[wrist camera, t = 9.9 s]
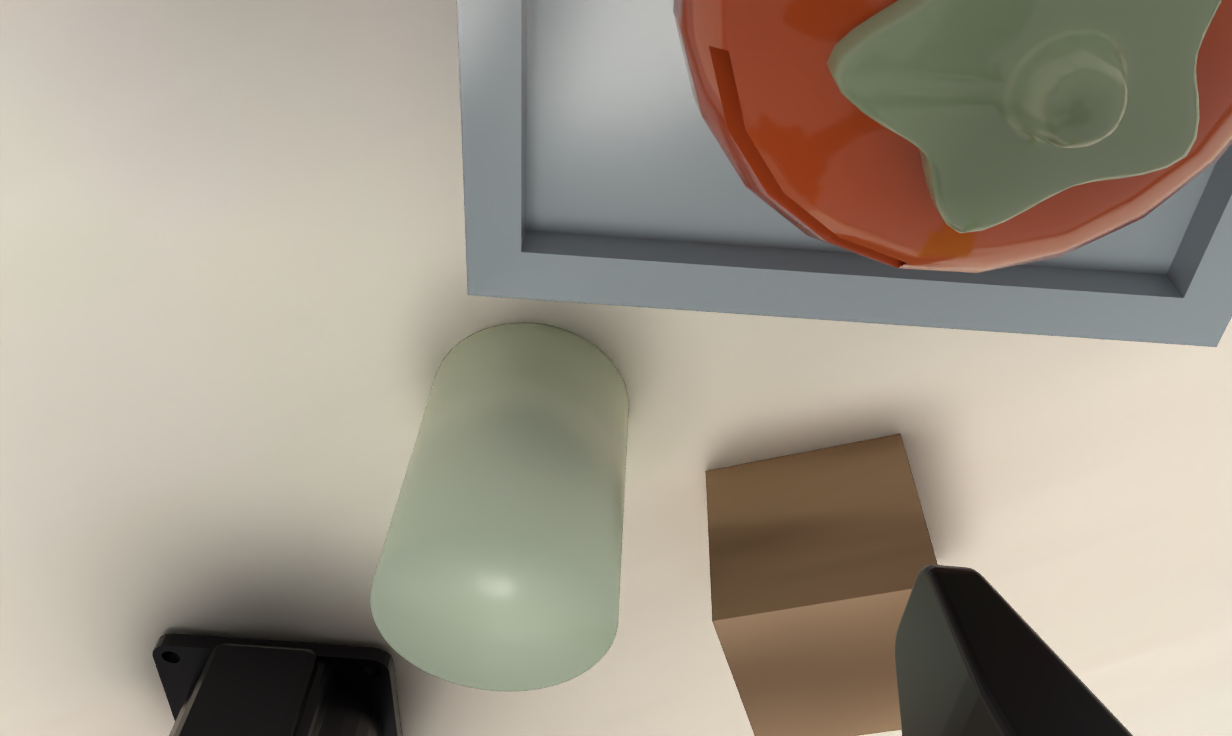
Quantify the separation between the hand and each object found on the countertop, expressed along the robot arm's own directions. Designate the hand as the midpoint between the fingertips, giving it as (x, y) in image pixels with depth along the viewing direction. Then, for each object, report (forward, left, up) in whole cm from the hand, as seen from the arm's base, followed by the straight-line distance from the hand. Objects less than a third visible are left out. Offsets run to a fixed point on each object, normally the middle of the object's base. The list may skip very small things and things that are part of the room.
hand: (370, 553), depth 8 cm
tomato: (+3, -6, -11) cm, 13 cm away
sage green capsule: (-8, 0, -12) cm, 15 cm away
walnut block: (-11, -7, -12) cm, 18 cm away
